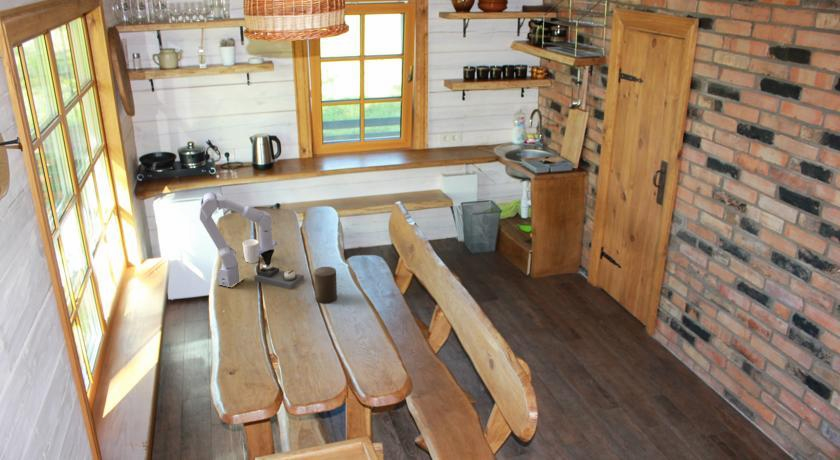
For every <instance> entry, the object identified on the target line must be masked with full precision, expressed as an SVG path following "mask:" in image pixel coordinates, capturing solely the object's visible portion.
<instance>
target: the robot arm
mask: <svg viewBox="0 0 840 460" xmlns="http://www.w3.org/2000/svg"><path fill="white" fill-rule="evenodd" d="M199 207H200V210H199V220H200V222H201V224H202V225H203V227H204V228H205V230H206V232H207V233H208V235H209V237H210V238H211V240H212V242H213V243H214V245H215V247H216V248H217V250H218V252H219V255H220V257H221V260H222V263H221V268H220V269H219V271H218V272H217V278H218V280H217V281H218V283H219V285H223V286H228V287H230V286H232V285H233V284H235V283H238V282H239V278H240V272H239V263H238V260H237V252H236V250H235V249H234V248H232V247H231V246H230V244H228V243H227V241H226V238H225V237H224V236H223V234H222V232H221V230H220V229H219V227H218V225H217V224H216V222H215V220H214V218H213V214H214V213H215V212H216V210H218V211H219V210H223V209H227V210H230V211H233V212H235V213H239V214H240V215H242V218H244V219H247V220H249V221H252V222H254V223H256V224H257V223H258V226H259V227H258V235H259V237H258V238H259V248H258V250H257V251H256V252H255V253H256V256H259V257H260V256H261V257H262V259H263V262H264V264H266V265H270V263H272V257H273V254H274V253H275V246H277V245H278V241H277V240H273V232H272V223H273V220H272V217H271V215H270V213H269V212H268V211H266V210H260V209H257V208H255V206H253V205H246V206H243V205H240V203H238V202H237V203H236V202H234V201H232V200H231V199H228V198H227V197H224V196H222V195H220V194H218V193H215V192H211V191H209V192H206V193H204V195H203V196H202V198H201V201H200V206H199ZM219 285H218V286H219ZM223 286H222V287H223ZM228 287H227V288H228Z"/></svg>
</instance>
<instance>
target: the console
mask: <svg viewBox="0 0 840 460" xmlns="http://www.w3.org/2000/svg"><path fill="white" fill-rule="evenodd" d="M256 272H257V273H256V275H255V276H254V282H256V283H261V284H265V285H269V286H274V287H278V288H282V289H287V290H292V289H294V288H295V287H296V286H298V285H300V284H301V283H302V282H303V281H304V280H305V275H304V274H298V273H295V278H293V279H285V278H284V273H285V272H286V271H285V270H281V269H280V268H279V267H275V266H273V269H272V270H269V271H265V270H263V267H262V268H260V269H258V270H257V271H256Z"/></svg>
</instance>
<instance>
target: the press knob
mask: <svg viewBox="0 0 840 460" xmlns="http://www.w3.org/2000/svg"><path fill="white" fill-rule="evenodd" d="M273 267H274V265H273V263H272V262H271V263H270V265H266V264H265V263H263V264H262V268H263V270H265V271H269V270H272V269H273Z"/></svg>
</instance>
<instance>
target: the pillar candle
mask: <svg viewBox="0 0 840 460" xmlns="http://www.w3.org/2000/svg"><path fill="white" fill-rule="evenodd" d="M337 284H338V283H337V270H336V268H335V267H332V266H320V267H317V268H315V269H314V297H315V301H316V302H317V303H319V304H320V303H321V304H331V303H334V302H335V301H337V298H338V295H337V294H338V293H337V289H338V286H337Z"/></svg>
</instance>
